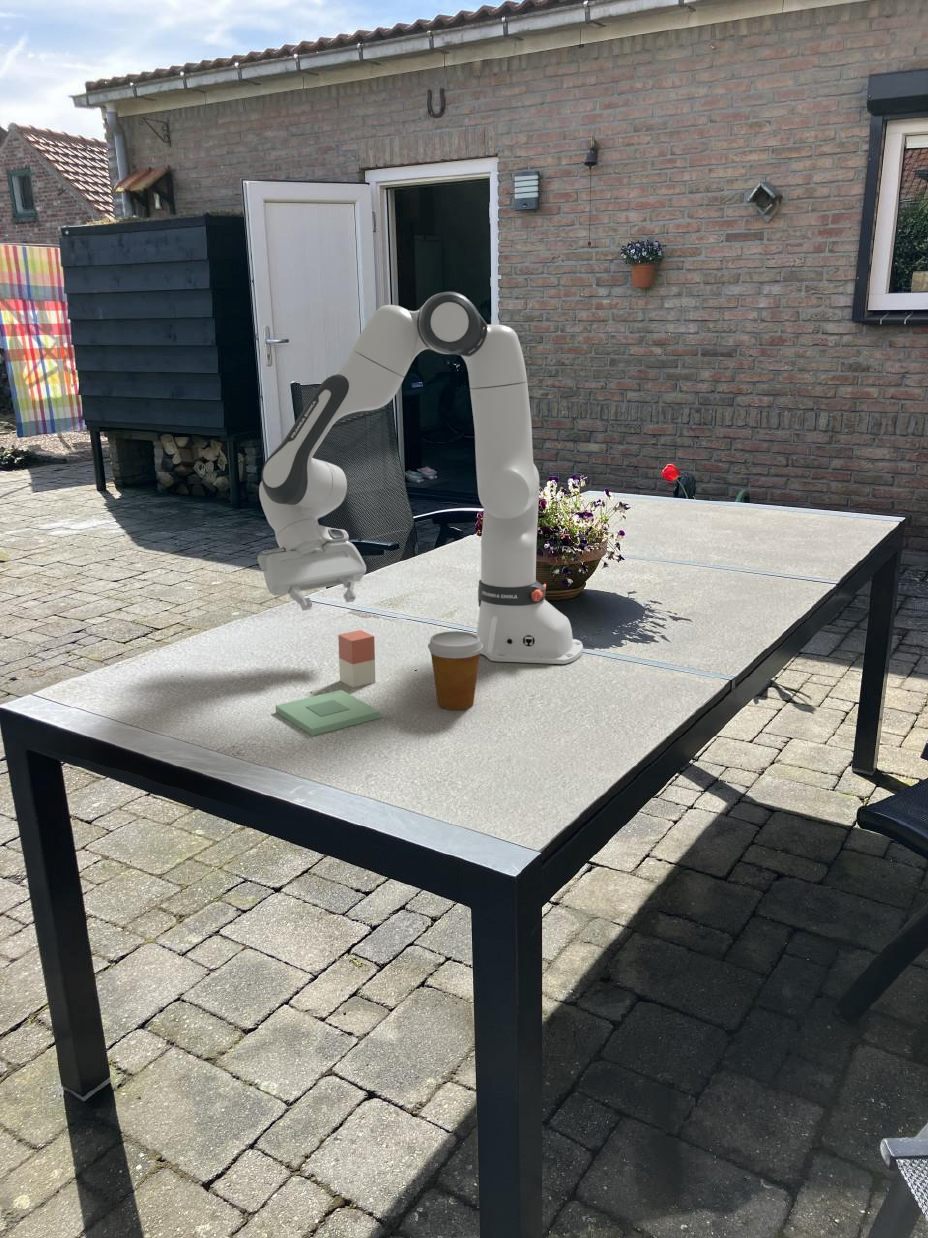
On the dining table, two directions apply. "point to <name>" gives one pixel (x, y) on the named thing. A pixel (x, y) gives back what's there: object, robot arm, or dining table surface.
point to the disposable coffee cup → (455, 667)
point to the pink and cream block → (357, 658)
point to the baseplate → (327, 712)
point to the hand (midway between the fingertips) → (329, 604)
